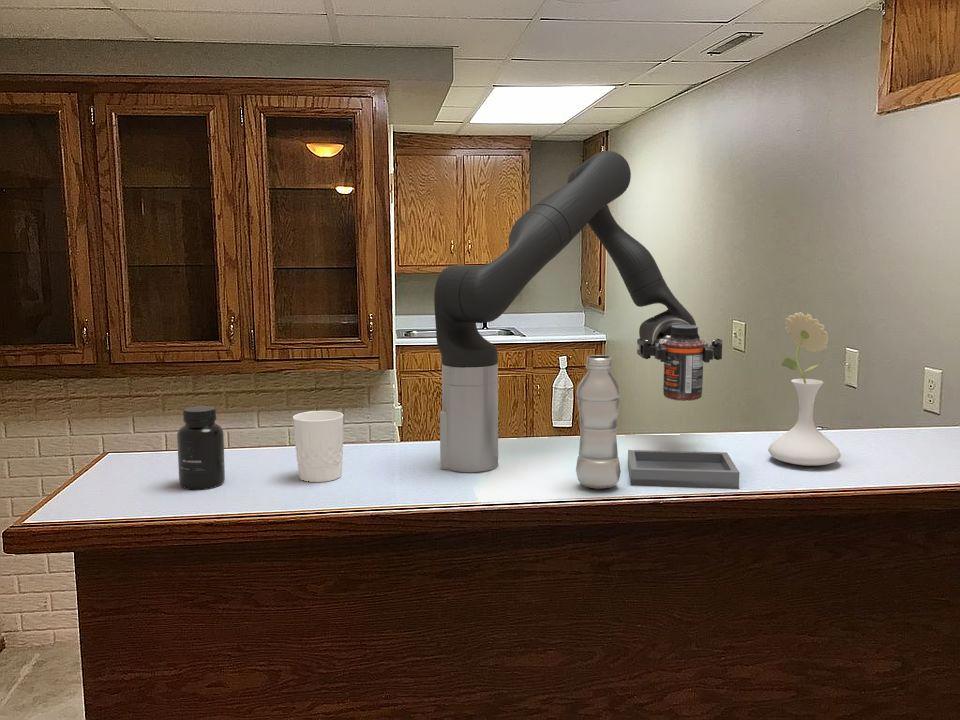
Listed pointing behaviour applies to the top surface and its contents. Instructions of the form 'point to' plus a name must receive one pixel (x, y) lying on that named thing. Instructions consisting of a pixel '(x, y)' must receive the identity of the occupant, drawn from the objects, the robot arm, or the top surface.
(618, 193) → the robot arm
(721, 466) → the gray tray
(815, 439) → the flower in vase
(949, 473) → the top surface
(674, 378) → the supplement bottle
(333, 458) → the white cup
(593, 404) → the plastic bottle
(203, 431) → the supplement bottle
